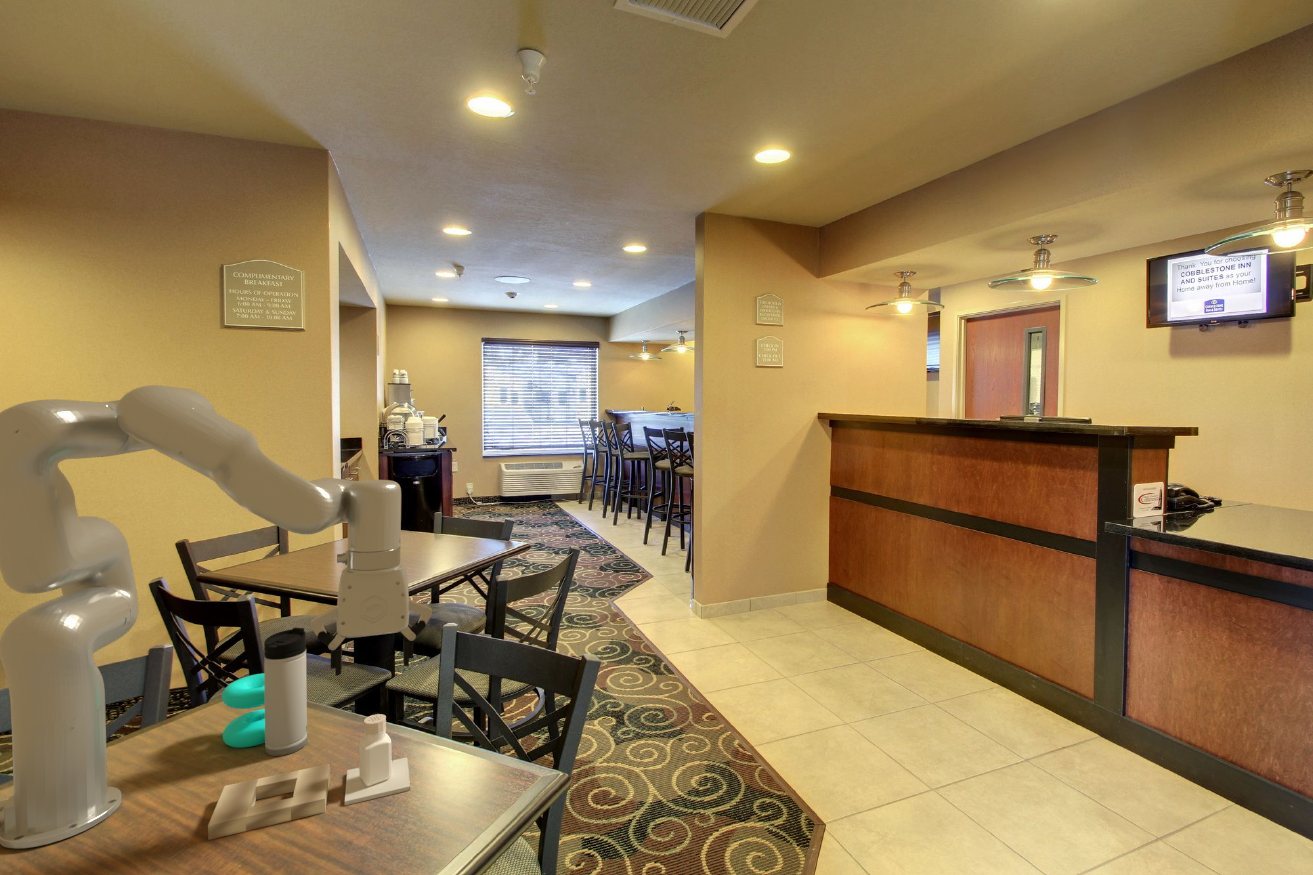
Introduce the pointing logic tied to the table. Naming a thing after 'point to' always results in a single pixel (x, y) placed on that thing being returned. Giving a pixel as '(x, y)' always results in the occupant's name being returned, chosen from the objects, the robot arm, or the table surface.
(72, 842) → the table surface
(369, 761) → the pepper shaker
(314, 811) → the socket block
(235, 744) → the donuts
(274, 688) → the travel mug
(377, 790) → the beige mat
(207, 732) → the table surface
